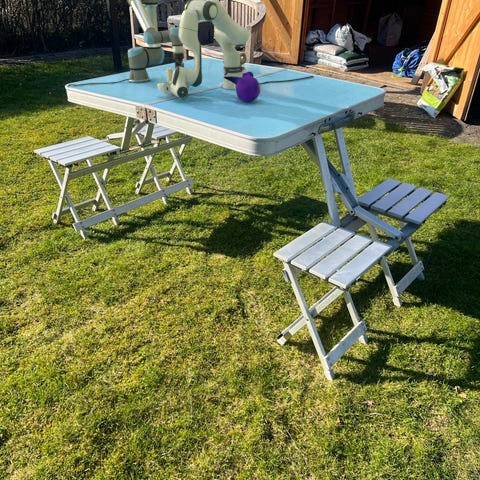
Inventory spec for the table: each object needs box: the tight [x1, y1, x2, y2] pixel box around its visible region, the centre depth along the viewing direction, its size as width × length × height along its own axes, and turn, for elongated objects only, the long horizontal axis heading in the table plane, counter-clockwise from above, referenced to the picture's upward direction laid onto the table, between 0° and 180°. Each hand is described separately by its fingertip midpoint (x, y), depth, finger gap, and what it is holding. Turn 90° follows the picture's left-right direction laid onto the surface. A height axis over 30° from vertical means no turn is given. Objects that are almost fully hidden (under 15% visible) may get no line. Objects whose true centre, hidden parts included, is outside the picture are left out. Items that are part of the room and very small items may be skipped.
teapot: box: [222, 52, 247, 67], centre depth 367 cm, size 21×12×15 cm, turn 120°
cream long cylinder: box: [165, 67, 174, 96], centre depth 296 cm, size 4×4×16 cm
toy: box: [223, 71, 261, 103], centre depth 276 cm, size 16×18×27 cm
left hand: (181, 87), depth 314 cm, fingers open, 7 cm apart
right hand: (170, 83), depth 297 cm, fingers closed on cream long cylinder, 4 cm apart
